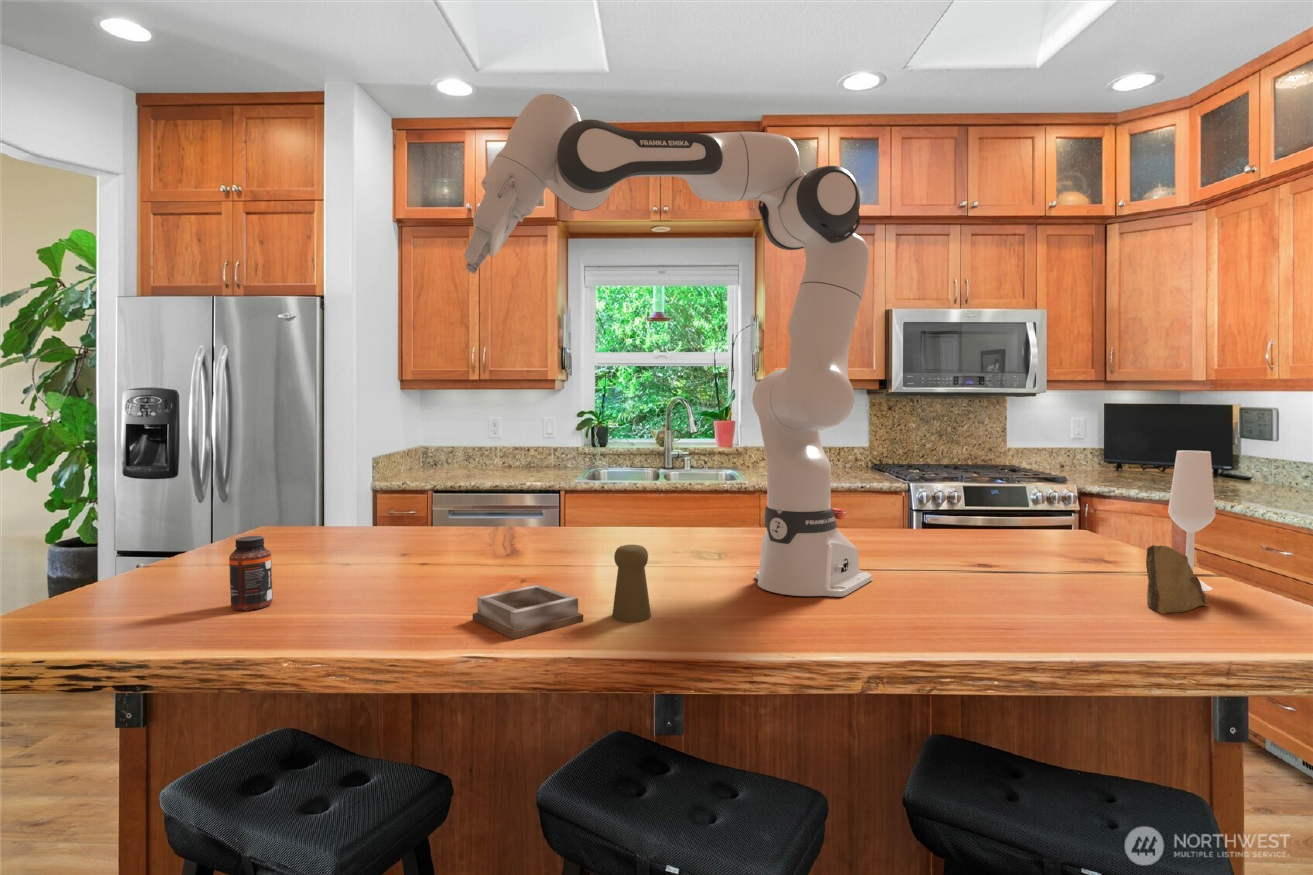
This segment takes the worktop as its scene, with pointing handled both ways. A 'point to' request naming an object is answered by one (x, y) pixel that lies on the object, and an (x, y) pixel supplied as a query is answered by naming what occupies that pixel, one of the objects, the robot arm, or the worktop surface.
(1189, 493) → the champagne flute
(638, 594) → the cork
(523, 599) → the socket mount
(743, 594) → the worktop surface
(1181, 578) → the rock
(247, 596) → the supplement bottle
